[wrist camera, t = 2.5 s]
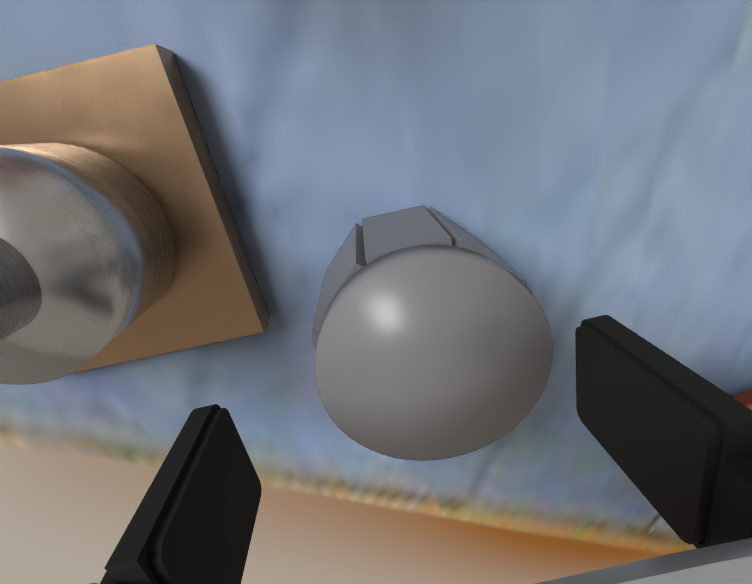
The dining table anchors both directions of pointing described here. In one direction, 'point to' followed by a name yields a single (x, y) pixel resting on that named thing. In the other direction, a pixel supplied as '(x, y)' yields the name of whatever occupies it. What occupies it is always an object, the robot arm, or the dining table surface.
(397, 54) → the dining table surface
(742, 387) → the dining table surface
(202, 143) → the stud
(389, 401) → the cap
